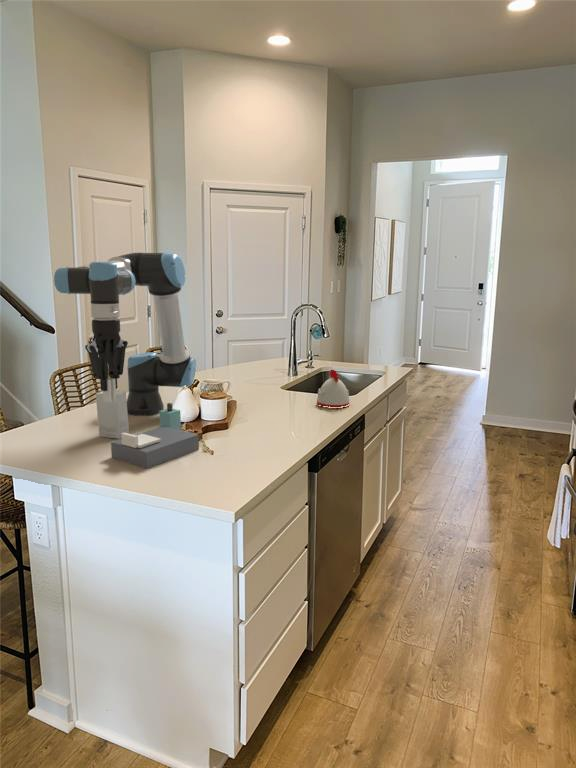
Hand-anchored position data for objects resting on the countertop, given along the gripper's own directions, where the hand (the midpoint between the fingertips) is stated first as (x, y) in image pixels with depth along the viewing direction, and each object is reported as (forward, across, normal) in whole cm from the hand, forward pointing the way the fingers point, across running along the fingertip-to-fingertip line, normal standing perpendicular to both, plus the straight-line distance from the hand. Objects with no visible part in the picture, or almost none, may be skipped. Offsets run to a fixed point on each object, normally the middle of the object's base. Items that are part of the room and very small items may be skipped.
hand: (109, 400), depth 168 cm
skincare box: (+21, +21, +25) cm, 39 cm away
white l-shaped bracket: (+15, +11, 0) cm, 18 cm away
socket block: (+20, +17, 0) cm, 27 cm away
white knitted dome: (+21, +106, -13) cm, 109 cm away
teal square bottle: (+21, +33, +10) cm, 40 cm away
